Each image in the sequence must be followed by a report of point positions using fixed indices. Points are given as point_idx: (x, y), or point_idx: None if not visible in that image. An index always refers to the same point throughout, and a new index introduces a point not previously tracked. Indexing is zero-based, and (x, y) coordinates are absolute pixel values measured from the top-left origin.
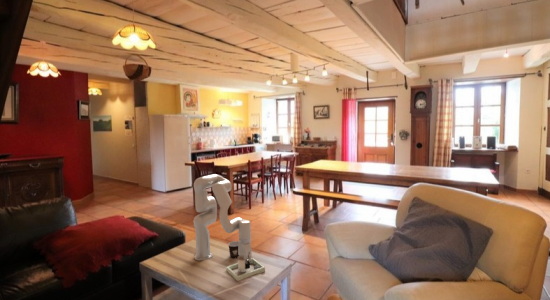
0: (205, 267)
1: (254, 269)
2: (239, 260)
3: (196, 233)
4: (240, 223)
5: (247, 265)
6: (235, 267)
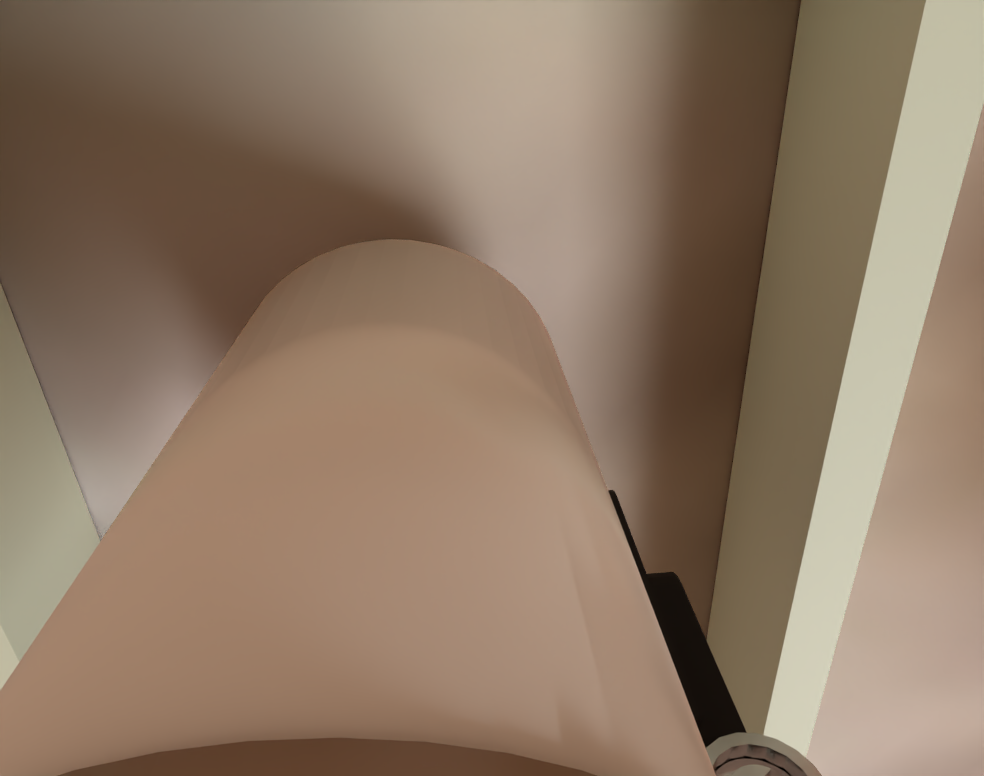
0: None
1: None
2: (45, 745)
3: None
4: None
5: None
6: (791, 269)
